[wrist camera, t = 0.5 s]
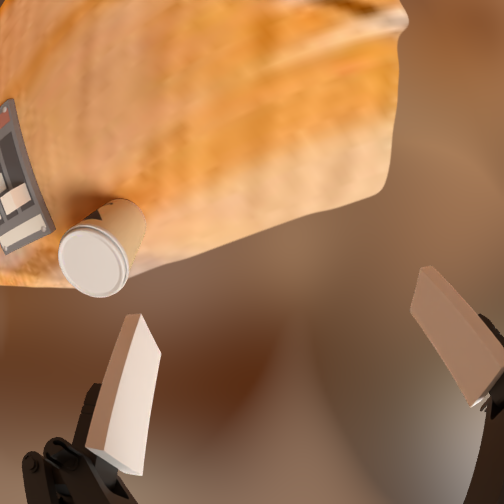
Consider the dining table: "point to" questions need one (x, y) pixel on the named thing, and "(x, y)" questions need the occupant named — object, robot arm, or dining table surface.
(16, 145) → the breaker panel
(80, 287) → the coffee cup
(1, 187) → the breaker toggle
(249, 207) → the dining table surface
